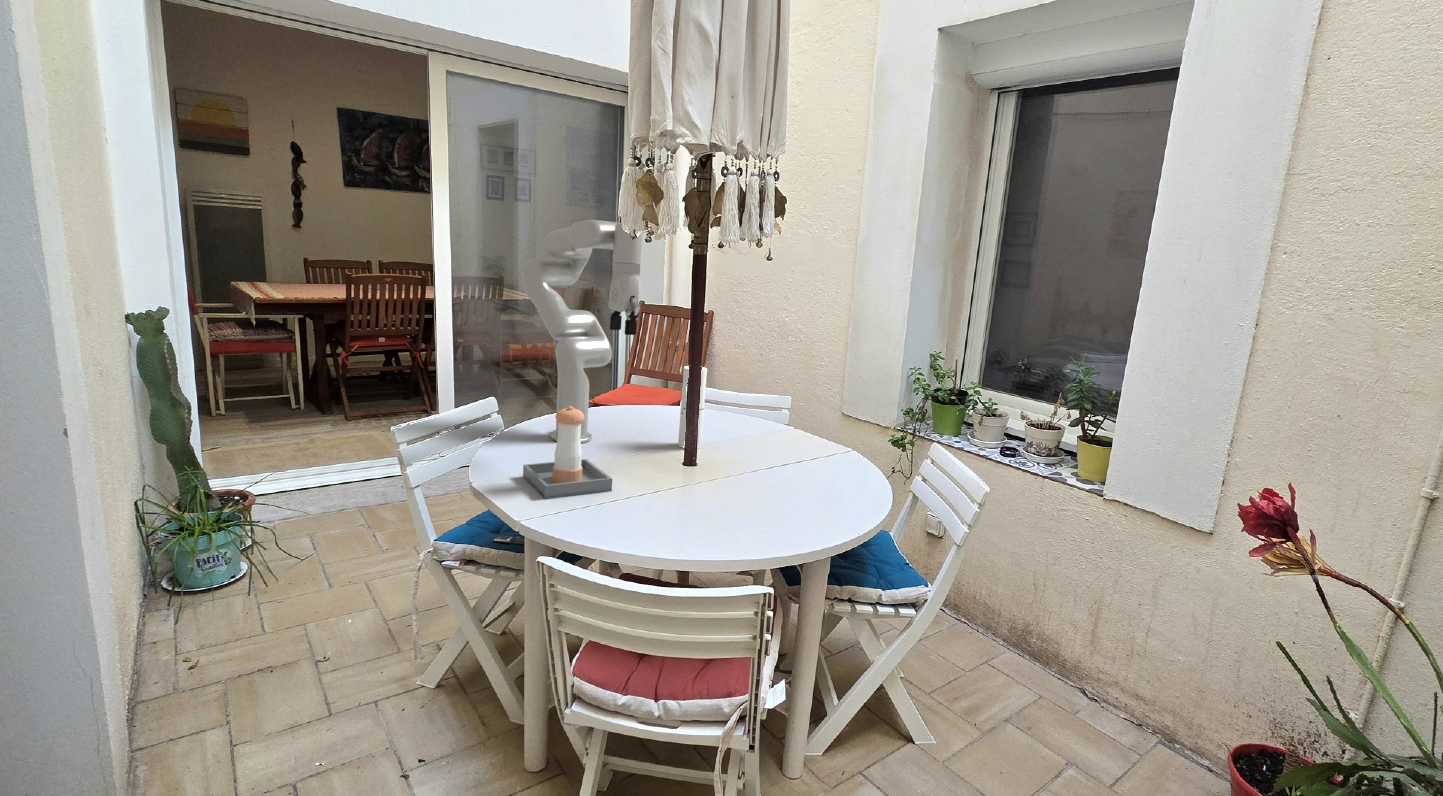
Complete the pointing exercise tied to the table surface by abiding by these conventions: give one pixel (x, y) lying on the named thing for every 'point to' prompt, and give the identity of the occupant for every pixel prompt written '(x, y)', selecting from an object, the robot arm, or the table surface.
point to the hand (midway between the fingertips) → (622, 332)
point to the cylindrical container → (683, 406)
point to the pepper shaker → (568, 446)
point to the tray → (590, 483)
